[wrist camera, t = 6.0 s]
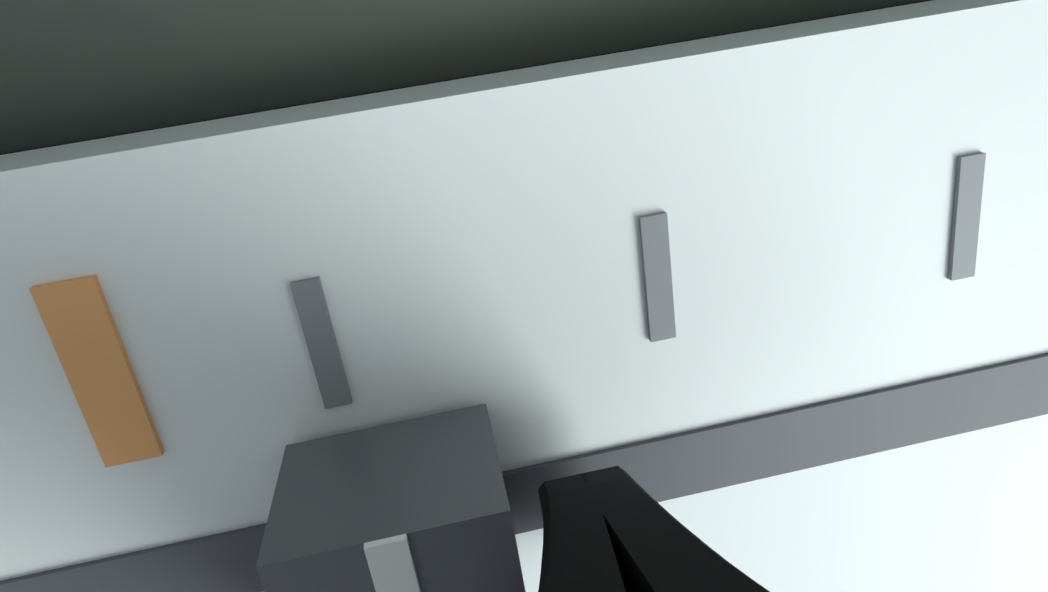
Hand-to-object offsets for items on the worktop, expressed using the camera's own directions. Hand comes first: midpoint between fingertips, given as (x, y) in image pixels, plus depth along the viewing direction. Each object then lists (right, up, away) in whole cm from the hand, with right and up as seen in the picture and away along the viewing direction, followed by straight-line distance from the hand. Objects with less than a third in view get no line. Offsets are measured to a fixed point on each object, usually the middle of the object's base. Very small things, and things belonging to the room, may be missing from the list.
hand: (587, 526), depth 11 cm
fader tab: (-3, 0, +1) cm, 3 cm away
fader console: (-1, +1, +3) cm, 3 cm away
